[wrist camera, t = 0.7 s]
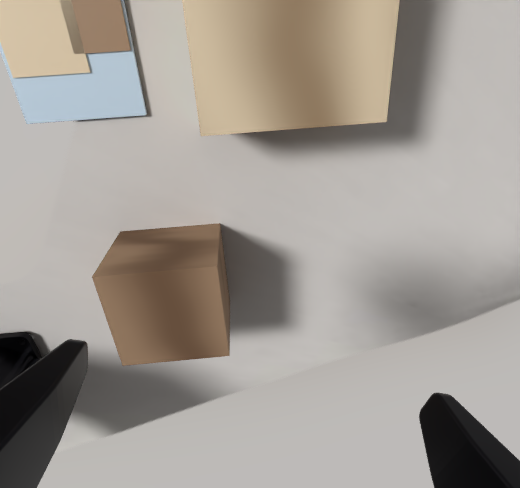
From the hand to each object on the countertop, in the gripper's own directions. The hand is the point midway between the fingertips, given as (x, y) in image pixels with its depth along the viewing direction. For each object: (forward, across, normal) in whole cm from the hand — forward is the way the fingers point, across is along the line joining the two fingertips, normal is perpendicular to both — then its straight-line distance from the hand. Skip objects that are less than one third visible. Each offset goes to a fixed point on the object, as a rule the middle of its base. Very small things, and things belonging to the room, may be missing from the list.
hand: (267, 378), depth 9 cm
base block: (+14, +1, -8) cm, 16 cm away
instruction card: (+13, +11, -6) cm, 18 cm away
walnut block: (+13, +4, +6) cm, 15 cm away
